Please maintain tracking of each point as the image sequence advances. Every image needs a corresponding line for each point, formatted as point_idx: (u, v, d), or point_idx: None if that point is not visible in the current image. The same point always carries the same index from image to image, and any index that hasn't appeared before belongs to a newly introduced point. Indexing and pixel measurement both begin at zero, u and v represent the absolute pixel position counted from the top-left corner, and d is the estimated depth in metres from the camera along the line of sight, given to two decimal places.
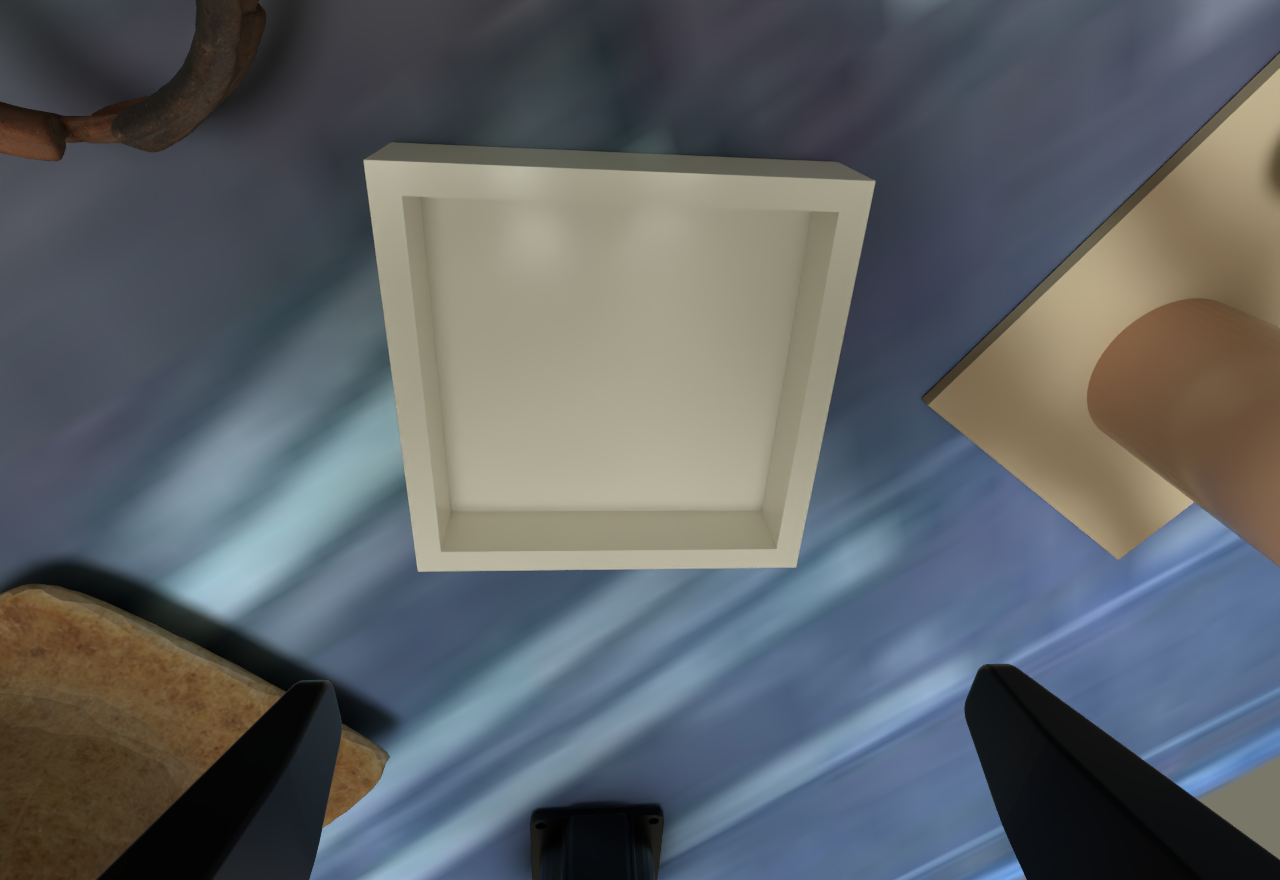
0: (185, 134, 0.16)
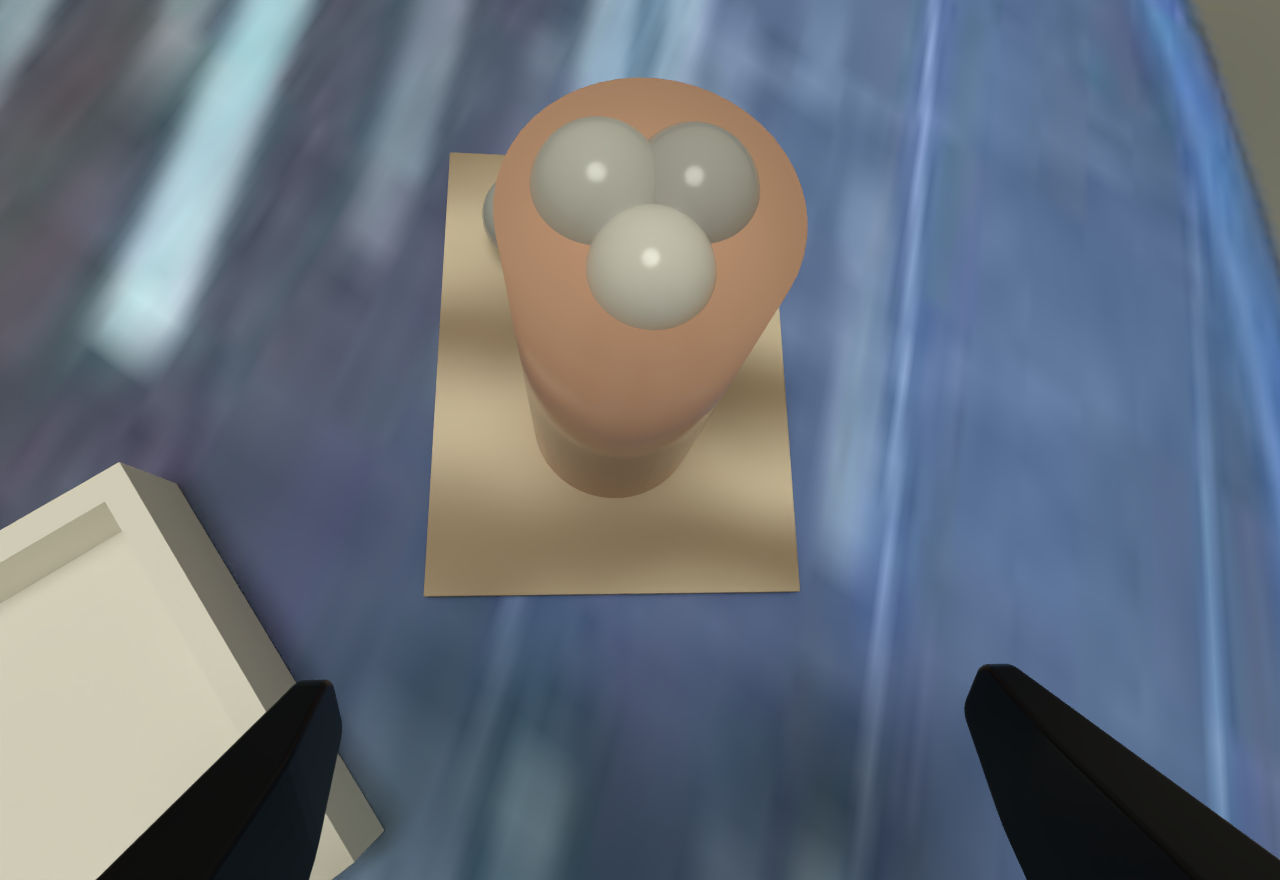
0: None
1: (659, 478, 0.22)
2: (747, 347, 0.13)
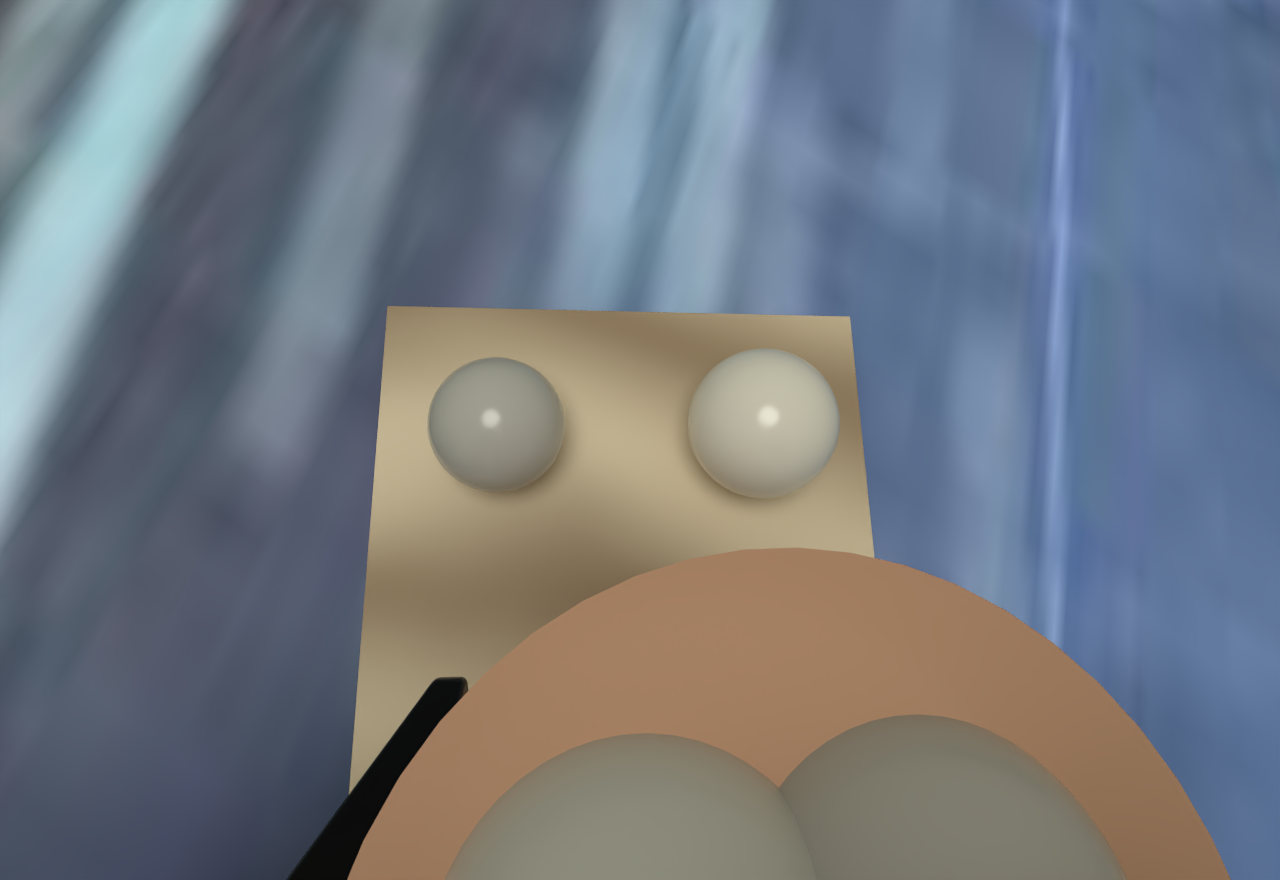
0: None
1: None
2: None
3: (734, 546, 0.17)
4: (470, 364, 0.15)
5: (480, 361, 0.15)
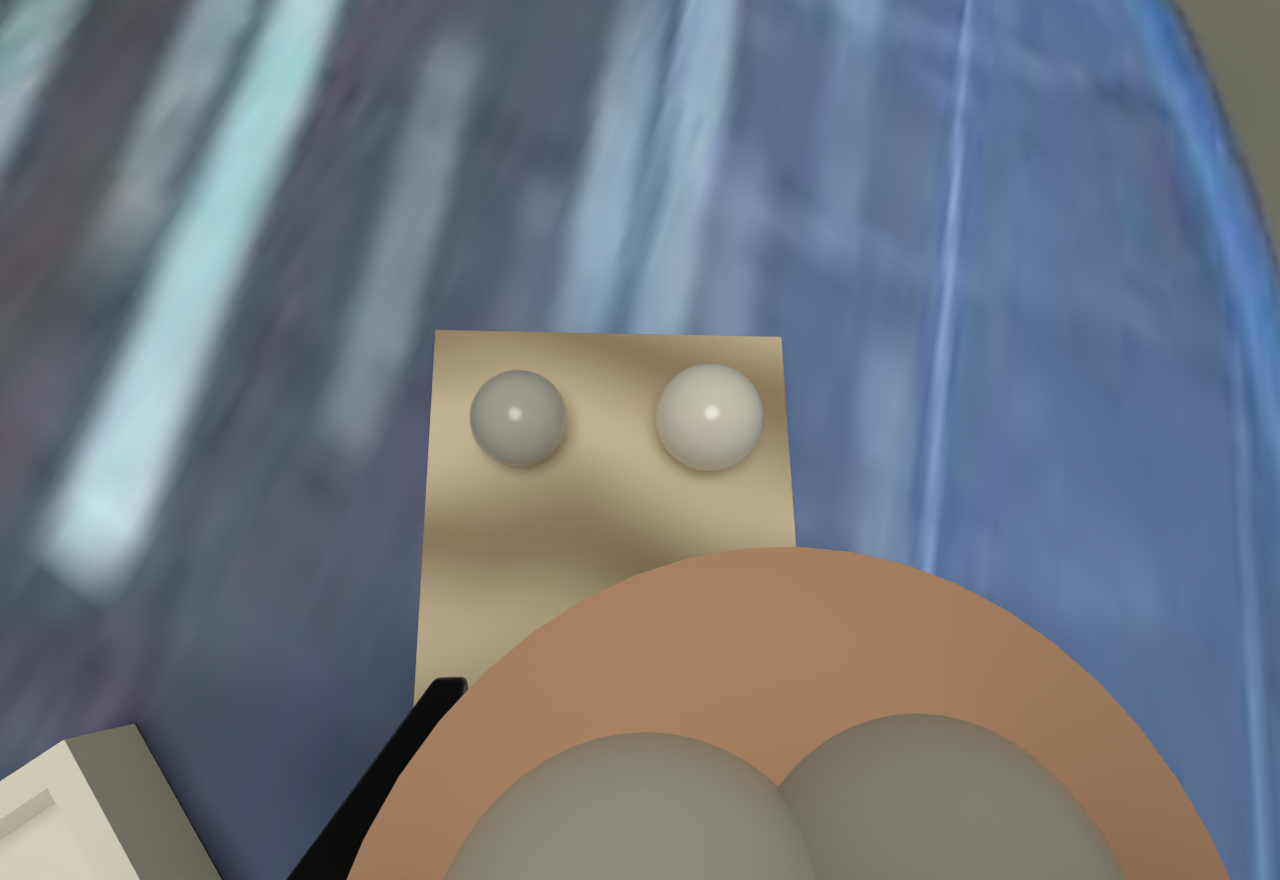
0: None
1: None
2: None
3: (690, 507, 0.24)
4: (500, 375, 0.22)
5: (507, 373, 0.22)
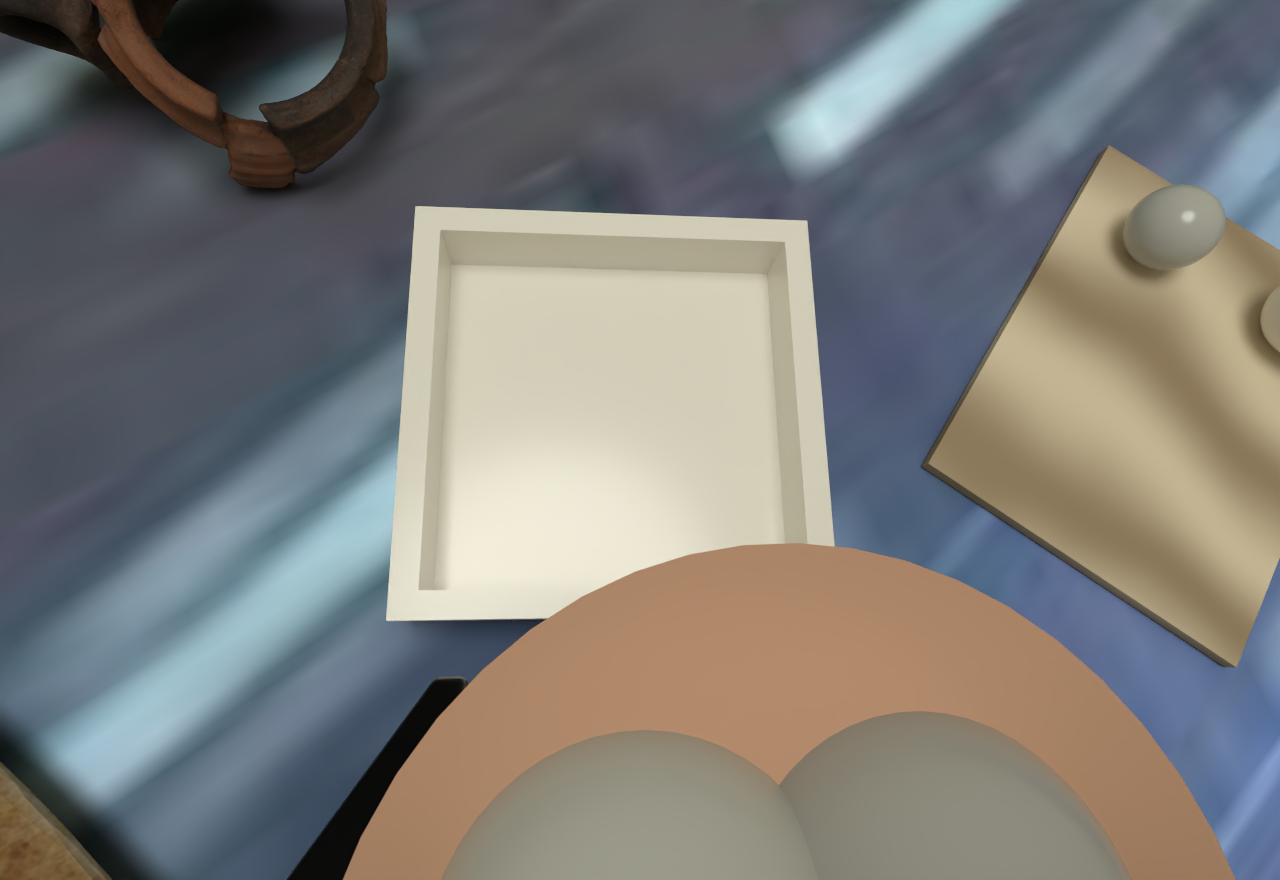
0: (308, 120, 0.22)
1: None
2: None
3: (1244, 380, 0.26)
4: (1191, 185, 0.25)
5: (1197, 186, 0.25)
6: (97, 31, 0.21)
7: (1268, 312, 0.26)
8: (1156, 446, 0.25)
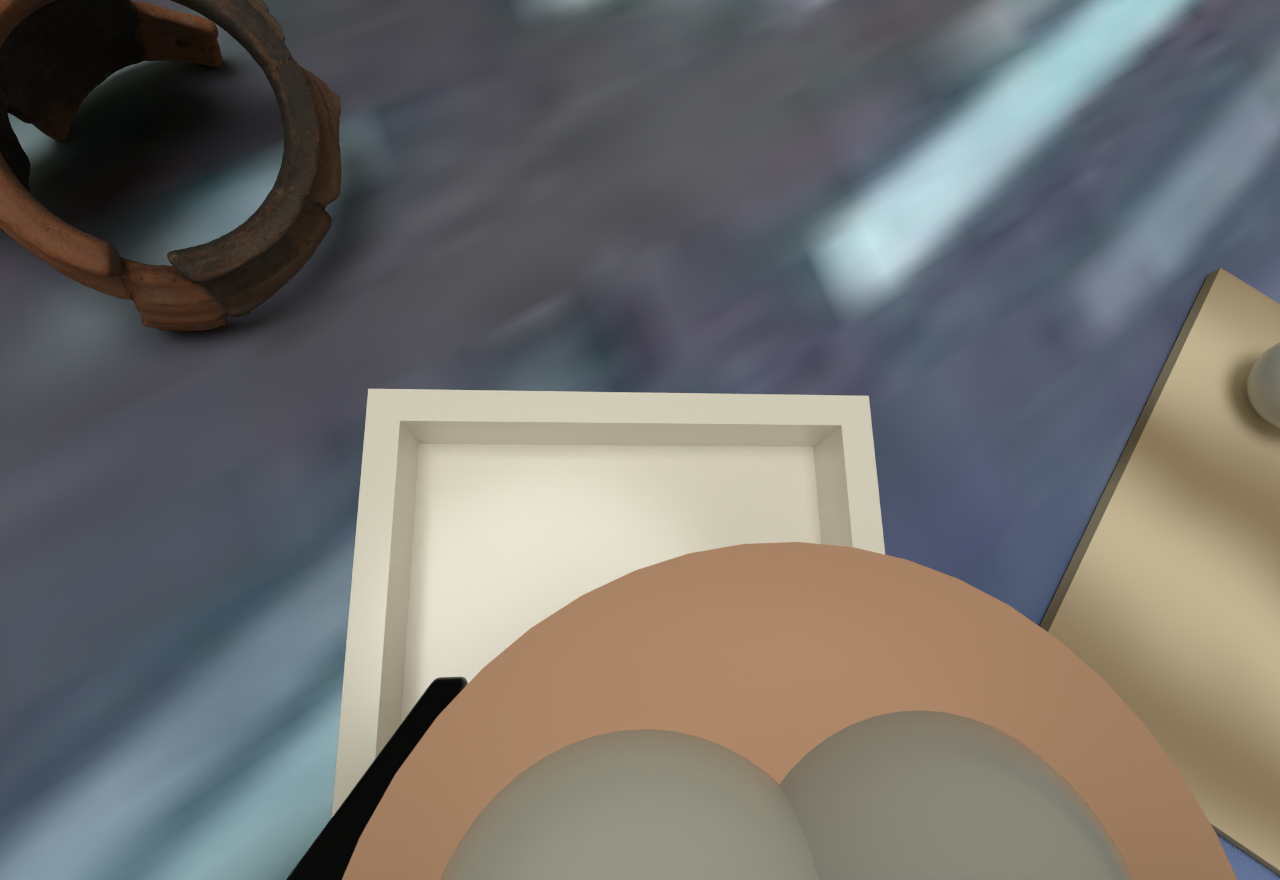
0: (234, 267, 0.17)
1: None
2: None
3: None
4: None
5: None
6: None
7: None
8: None
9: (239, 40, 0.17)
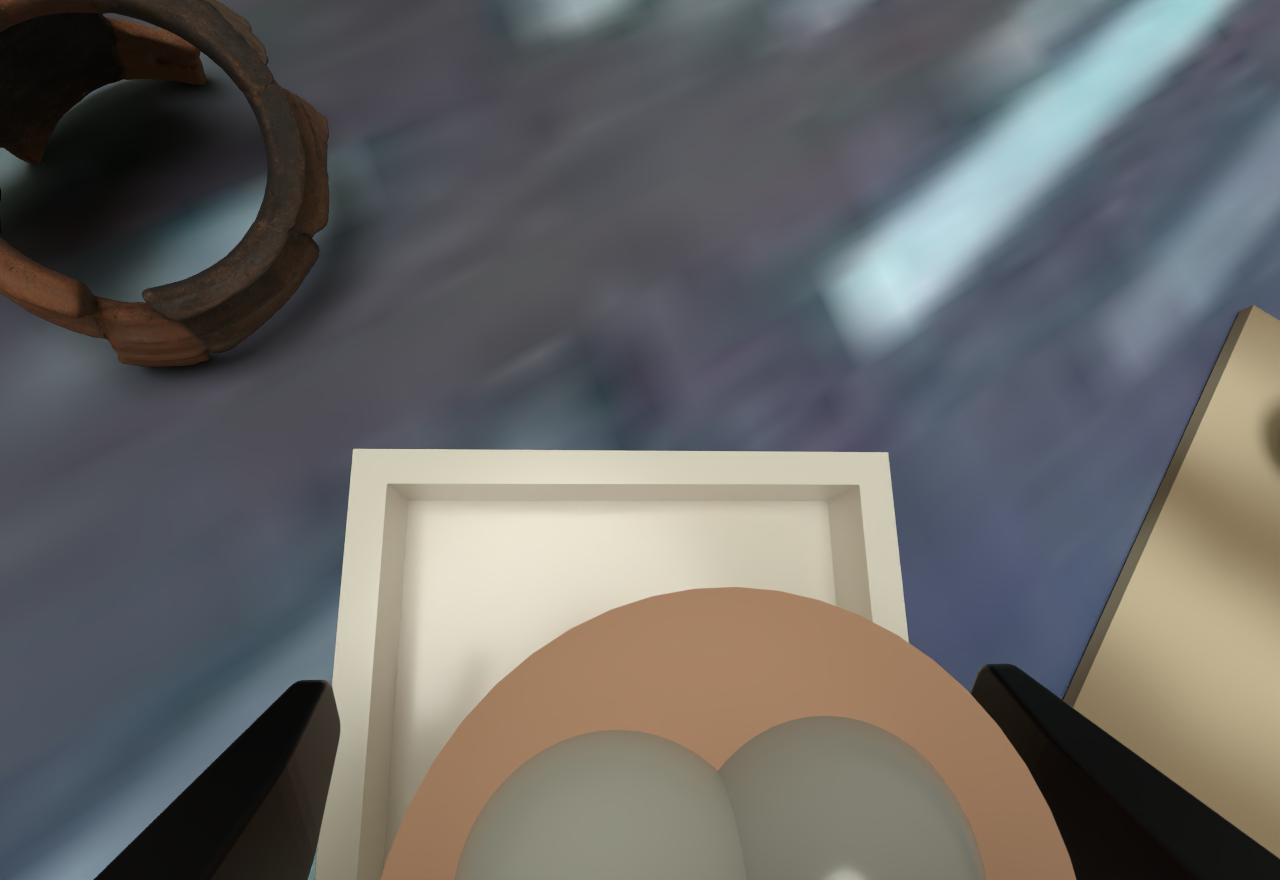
0: (214, 304, 0.16)
1: None
2: None
3: None
4: None
5: None
6: None
7: None
8: None
9: (218, 63, 0.16)
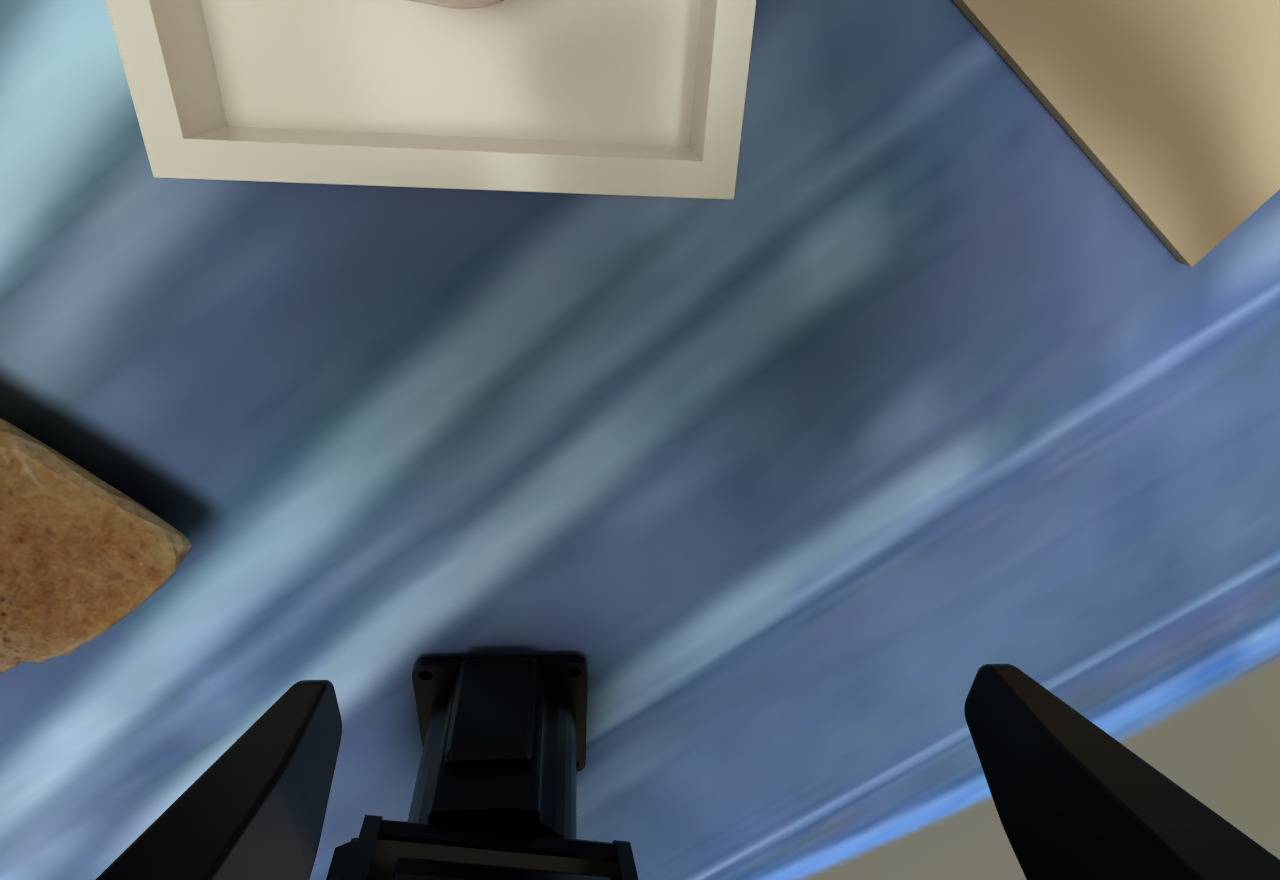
0: None
1: None
2: None
3: None
4: None
5: None
6: None
7: None
8: None
9: None
